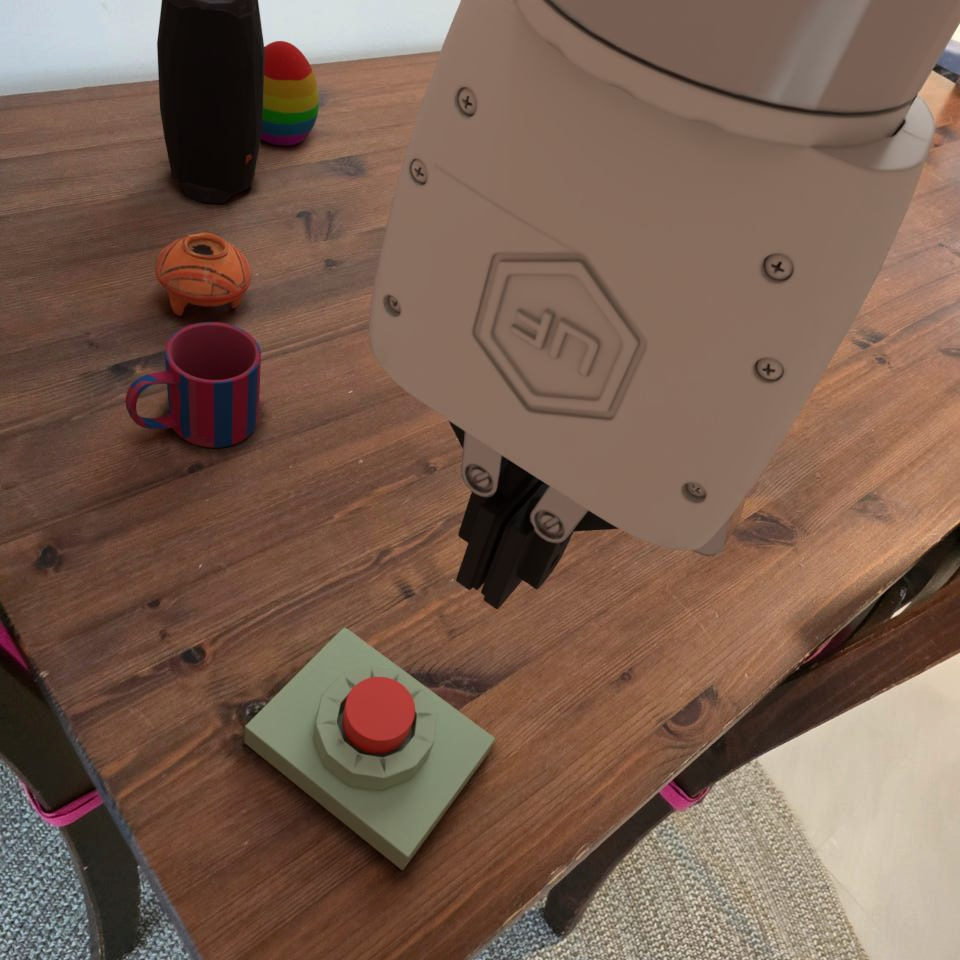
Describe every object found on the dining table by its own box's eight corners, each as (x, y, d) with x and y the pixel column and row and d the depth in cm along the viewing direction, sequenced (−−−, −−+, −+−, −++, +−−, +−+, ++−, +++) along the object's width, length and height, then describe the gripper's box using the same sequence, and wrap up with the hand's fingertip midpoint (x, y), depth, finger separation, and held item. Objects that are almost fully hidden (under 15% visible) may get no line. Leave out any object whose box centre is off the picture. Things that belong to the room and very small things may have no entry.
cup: (272, 434, 69) (276, 369, 64) (144, 471, 64) (138, 404, 60) (237, 379, 73) (238, 313, 68) (112, 410, 68) (103, 342, 63)
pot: (137, 278, 78) (151, 209, 74) (223, 285, 82) (240, 220, 78) (162, 334, 73) (179, 264, 69) (252, 337, 78) (272, 272, 74)
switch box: (488, 753, 56) (503, 725, 53) (402, 871, 50) (413, 846, 47) (341, 643, 59) (347, 610, 56) (243, 742, 53) (244, 711, 50)
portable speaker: (274, 197, 91) (284, -3, 76) (188, 214, 86) (181, 4, 72) (234, 154, 94) (237, -45, 80) (149, 168, 89) (135, -41, 75)
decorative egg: (250, 108, 101) (252, 18, 94) (321, 124, 102) (329, 36, 95) (233, 143, 96) (234, 50, 89) (309, 159, 97) (316, 69, 90)
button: (424, 717, 52) (429, 704, 51) (382, 768, 50) (386, 755, 49) (371, 678, 53) (374, 663, 52) (327, 725, 51) (330, 711, 50)
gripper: (267, -181, 15) (246, 509, 28) (1160, 237, 11) (649, 801, 25) (505, -202, 20) (390, 396, 33) (1182, 86, 16) (745, 626, 29)
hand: (501, 568), depth 29 cm, fingers closed
